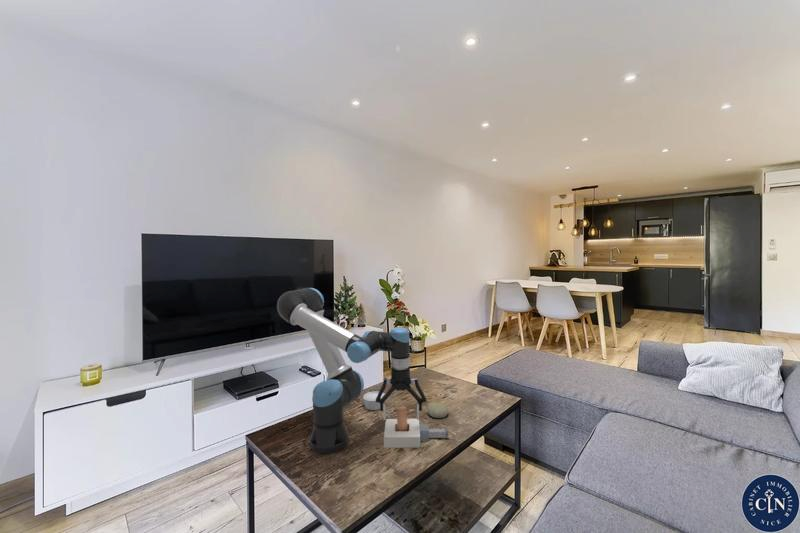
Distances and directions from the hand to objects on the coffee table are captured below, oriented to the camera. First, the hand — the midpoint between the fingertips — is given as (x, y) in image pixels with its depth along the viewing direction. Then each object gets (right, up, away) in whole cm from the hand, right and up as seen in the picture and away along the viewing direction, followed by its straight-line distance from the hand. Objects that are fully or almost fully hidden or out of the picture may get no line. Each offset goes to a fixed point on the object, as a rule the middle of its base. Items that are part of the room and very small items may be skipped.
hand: (401, 418), depth 138 cm
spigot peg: (+1, -8, 0) cm, 8 cm away
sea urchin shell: (+17, -7, +19) cm, 26 cm away
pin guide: (+9, -8, 0) cm, 12 cm away
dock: (0, -8, 0) cm, 8 cm away
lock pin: (+13, -8, 0) cm, 15 cm away
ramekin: (-13, -7, +29) cm, 32 cm away
